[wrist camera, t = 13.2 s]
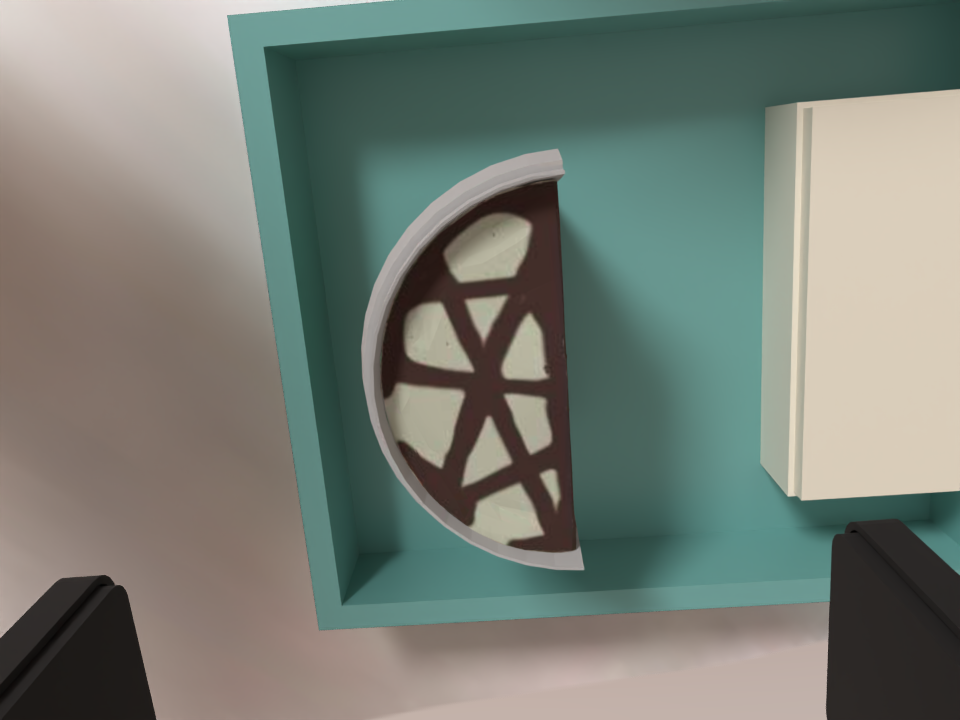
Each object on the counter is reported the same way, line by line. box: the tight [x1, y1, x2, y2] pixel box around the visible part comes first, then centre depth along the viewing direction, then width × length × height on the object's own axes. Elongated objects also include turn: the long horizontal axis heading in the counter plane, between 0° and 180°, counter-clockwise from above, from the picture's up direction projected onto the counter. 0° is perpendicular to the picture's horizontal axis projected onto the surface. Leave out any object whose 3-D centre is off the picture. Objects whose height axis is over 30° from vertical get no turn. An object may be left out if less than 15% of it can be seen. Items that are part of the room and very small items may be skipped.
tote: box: [227, 0, 960, 630], centre depth 29 cm, size 22×26×5 cm
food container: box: [361, 149, 584, 570], centre depth 26 cm, size 12×6×10 cm, turn 4°
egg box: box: [760, 89, 960, 501], centre depth 29 cm, size 14×6×4 cm, turn 4°
